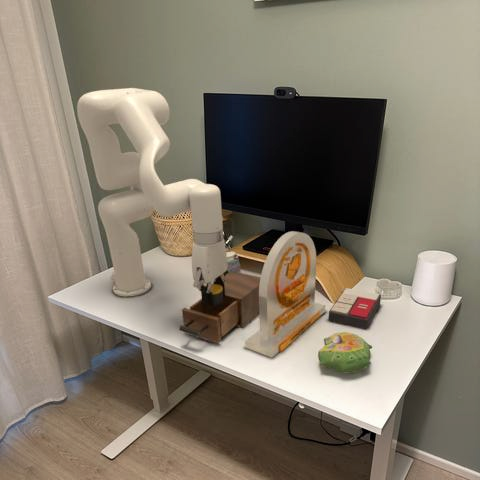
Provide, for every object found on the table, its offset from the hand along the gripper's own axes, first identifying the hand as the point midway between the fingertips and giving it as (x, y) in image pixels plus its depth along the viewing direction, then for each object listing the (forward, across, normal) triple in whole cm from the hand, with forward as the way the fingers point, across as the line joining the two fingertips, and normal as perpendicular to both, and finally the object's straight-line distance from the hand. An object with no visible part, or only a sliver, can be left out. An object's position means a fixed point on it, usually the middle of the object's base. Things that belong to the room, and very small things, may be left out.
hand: (213, 299), depth 123 cm
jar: (+1, 0, 0) cm, 1 cm away
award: (+10, -9, +18) cm, 22 cm away
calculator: (+10, -26, +31) cm, 42 cm away
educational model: (+10, -2, +37) cm, 38 cm away
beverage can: (+10, -24, -10) cm, 28 cm away
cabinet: (+9, -11, 0) cm, 15 cm away
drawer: (+9, +3, 0) cm, 9 cm away
